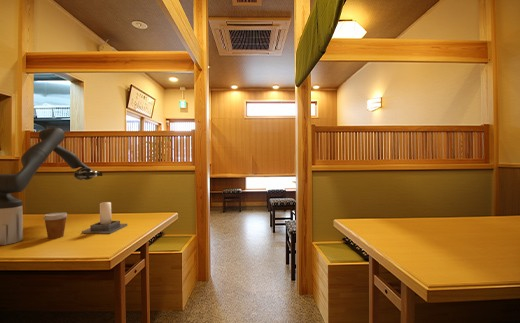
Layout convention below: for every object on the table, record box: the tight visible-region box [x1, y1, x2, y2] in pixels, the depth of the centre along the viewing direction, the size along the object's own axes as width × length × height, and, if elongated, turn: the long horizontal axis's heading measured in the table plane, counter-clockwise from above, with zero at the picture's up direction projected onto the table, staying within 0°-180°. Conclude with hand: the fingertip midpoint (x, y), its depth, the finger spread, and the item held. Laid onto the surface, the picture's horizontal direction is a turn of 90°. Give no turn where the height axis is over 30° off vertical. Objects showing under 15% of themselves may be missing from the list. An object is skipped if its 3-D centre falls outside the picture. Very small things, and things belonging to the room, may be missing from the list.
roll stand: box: [81, 220, 128, 235], centre depth 138 cm, size 16×16×4 cm
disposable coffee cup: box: [43, 211, 68, 240], centre depth 124 cm, size 10×10×12 cm
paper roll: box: [99, 201, 112, 225], centre depth 138 cm, size 6×6×14 cm
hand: (90, 174), depth 144 cm, fingers open, 8 cm apart
